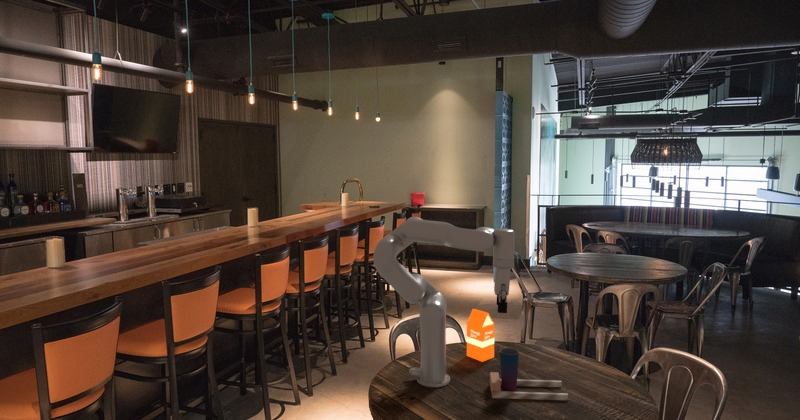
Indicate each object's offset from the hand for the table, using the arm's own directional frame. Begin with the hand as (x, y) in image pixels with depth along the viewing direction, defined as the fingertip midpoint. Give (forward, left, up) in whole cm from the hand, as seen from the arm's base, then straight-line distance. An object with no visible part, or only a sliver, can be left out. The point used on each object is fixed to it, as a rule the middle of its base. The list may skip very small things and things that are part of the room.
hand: (501, 308), depth 189 cm
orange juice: (-6, +26, -29) cm, 40 cm away
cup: (+2, -6, -29) cm, 30 cm away
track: (+9, -6, -29) cm, 31 cm away
